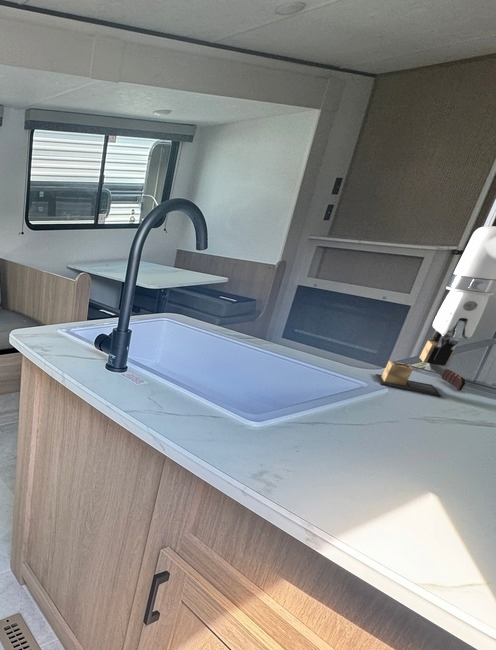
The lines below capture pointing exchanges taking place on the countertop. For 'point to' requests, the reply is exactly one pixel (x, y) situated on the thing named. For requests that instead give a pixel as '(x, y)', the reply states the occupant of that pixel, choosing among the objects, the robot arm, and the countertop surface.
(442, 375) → the knife
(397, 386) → the word mat
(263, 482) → the countertop surface
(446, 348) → the robot arm
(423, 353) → the tile
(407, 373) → the wooden block
